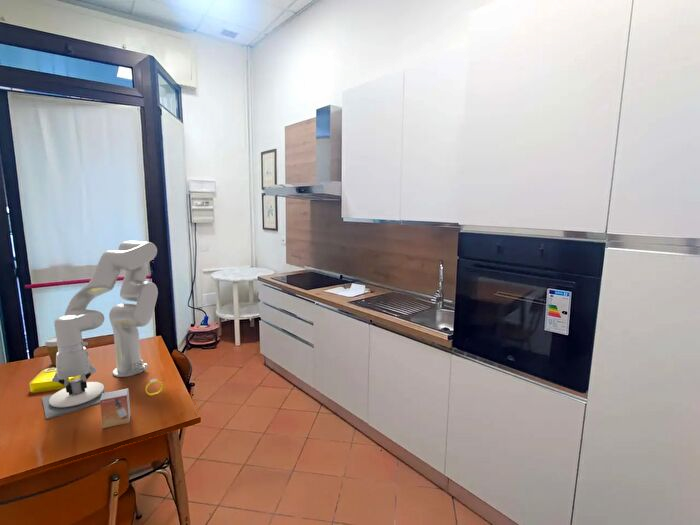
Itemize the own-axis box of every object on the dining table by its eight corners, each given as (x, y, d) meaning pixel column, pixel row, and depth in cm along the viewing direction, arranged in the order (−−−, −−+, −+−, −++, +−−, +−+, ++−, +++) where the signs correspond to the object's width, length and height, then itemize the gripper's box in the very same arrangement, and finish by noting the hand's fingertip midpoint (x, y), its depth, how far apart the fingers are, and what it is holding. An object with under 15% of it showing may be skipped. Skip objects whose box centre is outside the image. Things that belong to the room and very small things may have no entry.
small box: (101, 429, 119) (98, 400, 118) (104, 420, 124) (101, 392, 123) (129, 423, 123) (127, 394, 121) (130, 414, 128) (128, 387, 126)
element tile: (28, 394, 141) (26, 383, 141) (44, 377, 155) (43, 367, 155) (73, 388, 147) (72, 377, 146) (85, 372, 161) (84, 362, 160)
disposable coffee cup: (69, 356, 176) (66, 333, 174) (75, 361, 171) (73, 338, 169) (44, 363, 168) (41, 339, 167) (51, 368, 163) (48, 344, 161)
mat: (110, 400, 137) (109, 398, 137) (46, 419, 124) (45, 418, 124) (100, 382, 151) (100, 381, 151) (42, 398, 138) (41, 397, 138)
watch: (147, 398, 140) (144, 384, 138) (146, 395, 142) (143, 381, 141) (163, 392, 143) (161, 379, 142) (162, 390, 145) (160, 376, 144)
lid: (108, 395, 138) (106, 381, 137) (51, 413, 126) (49, 398, 125) (99, 379, 150) (97, 366, 149) (47, 394, 138) (45, 380, 137)
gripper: (97, 339, 142) (102, 381, 146) (43, 349, 133) (50, 394, 136) (97, 345, 136) (103, 389, 140) (41, 356, 127) (48, 403, 130)
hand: (77, 391), depth 138 cm, fingers closed on lid, 3 cm apart
